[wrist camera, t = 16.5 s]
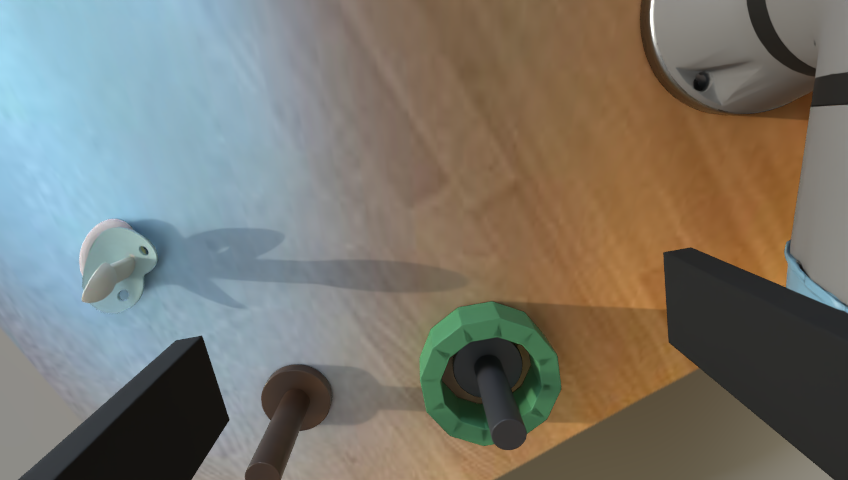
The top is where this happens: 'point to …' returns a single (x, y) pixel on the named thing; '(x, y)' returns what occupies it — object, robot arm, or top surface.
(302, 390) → the walnut peg
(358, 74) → the top surface
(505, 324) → the ring
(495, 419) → the charcoal peg
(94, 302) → the pacifier
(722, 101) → the robot arm
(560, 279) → the top surface
